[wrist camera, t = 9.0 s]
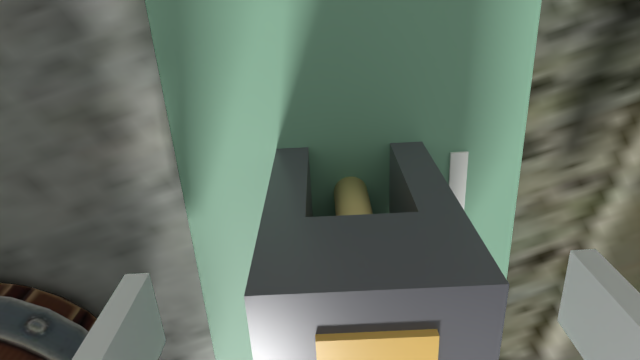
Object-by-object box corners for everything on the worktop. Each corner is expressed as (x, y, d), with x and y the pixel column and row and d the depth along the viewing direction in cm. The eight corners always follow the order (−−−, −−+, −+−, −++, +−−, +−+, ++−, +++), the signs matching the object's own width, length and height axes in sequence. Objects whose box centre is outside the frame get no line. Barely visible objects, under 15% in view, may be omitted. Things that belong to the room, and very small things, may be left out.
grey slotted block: (293, 330, 20) (279, 555, 12) (276, 148, 16) (242, 302, 9) (414, 324, 19) (476, 548, 12) (421, 141, 16) (513, 290, 9)
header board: (229, 408, 22) (209, 511, 18) (150, -1, 15) (85, 10, 11) (486, 395, 22) (526, 497, 18) (536, -26, 15) (625, -24, 10)
